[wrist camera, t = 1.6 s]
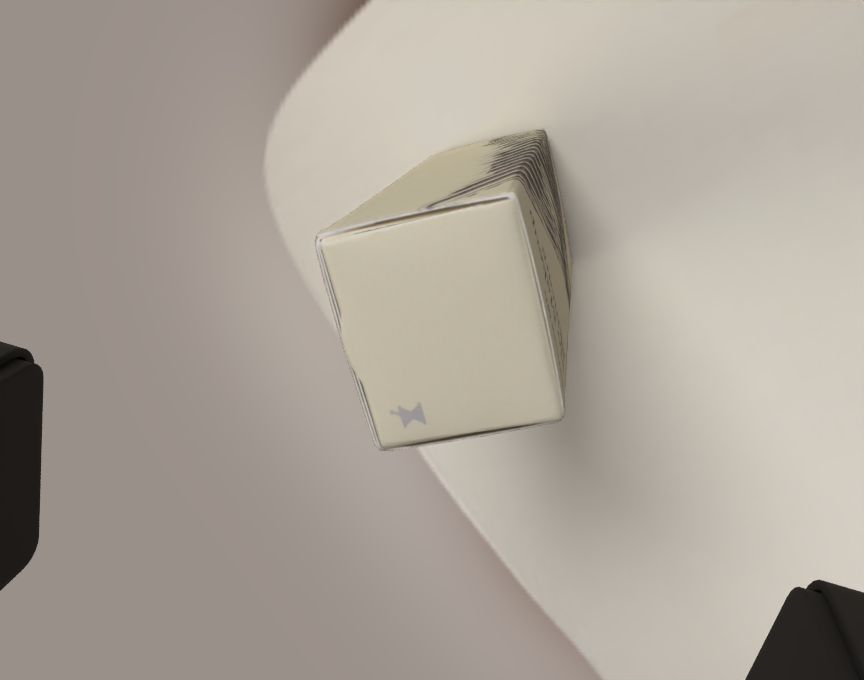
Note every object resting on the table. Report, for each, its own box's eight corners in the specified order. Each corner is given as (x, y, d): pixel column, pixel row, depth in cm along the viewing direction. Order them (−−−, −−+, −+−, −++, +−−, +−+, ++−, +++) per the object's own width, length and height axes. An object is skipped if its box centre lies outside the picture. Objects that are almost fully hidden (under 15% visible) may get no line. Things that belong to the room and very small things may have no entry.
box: (575, 266, 28) (577, 438, 16) (456, 290, 29) (375, 469, 17) (545, 116, 26) (522, 187, 15) (419, 147, 27) (303, 236, 16)
